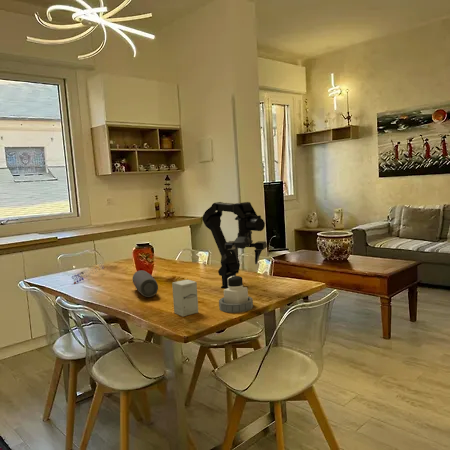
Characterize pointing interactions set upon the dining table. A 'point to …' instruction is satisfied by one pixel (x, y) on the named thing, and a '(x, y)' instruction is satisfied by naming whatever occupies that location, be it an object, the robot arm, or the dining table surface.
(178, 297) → the supplement box
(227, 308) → the round dish
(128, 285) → the dining table surface
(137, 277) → the bluetooth speaker
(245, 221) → the robot arm
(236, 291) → the medicine bottle
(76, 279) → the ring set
